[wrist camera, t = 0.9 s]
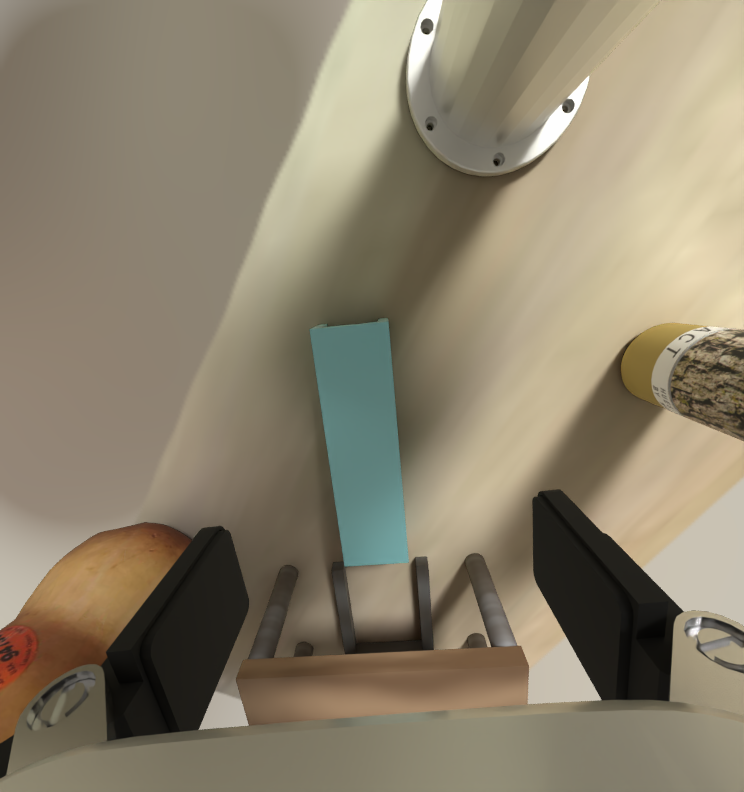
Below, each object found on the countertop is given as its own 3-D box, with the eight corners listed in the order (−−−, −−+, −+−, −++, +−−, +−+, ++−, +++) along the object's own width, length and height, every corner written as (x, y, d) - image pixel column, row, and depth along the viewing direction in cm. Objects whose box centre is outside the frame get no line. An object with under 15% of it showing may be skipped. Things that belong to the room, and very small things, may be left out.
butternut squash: (217, 490, 35) (-133, 917, 11) (245, 596, 39) (27, 1083, 15) (87, 501, 36) (-506, 923, 12) (126, 603, 40) (-263, 1080, 16)
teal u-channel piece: (318, 324, 30) (309, 329, 26) (387, 317, 30) (388, 321, 26) (348, 537, 36) (344, 566, 32) (405, 533, 36) (408, 562, 32)
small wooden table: (278, 565, 38) (235, 679, 27) (484, 552, 36) (528, 665, 25) (297, 655, 41) (267, 787, 30) (484, 646, 40) (524, 780, 29)
